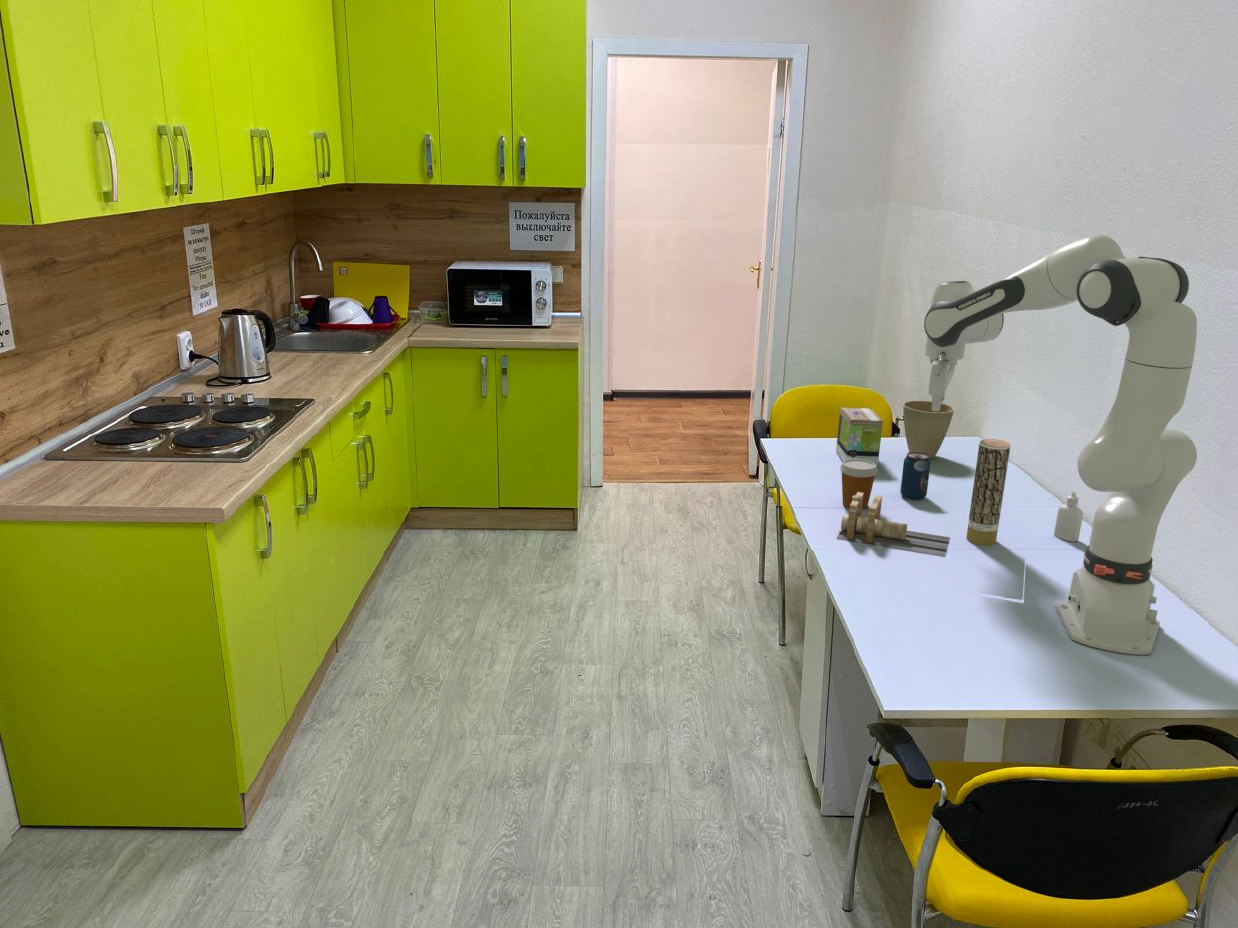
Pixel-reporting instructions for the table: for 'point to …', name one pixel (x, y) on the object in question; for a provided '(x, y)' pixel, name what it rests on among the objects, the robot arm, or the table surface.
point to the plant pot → (926, 426)
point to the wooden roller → (877, 528)
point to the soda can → (915, 476)
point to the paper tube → (988, 491)
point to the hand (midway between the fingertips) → (937, 406)
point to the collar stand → (912, 541)
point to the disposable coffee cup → (857, 480)
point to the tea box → (859, 434)
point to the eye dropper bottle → (1069, 520)
